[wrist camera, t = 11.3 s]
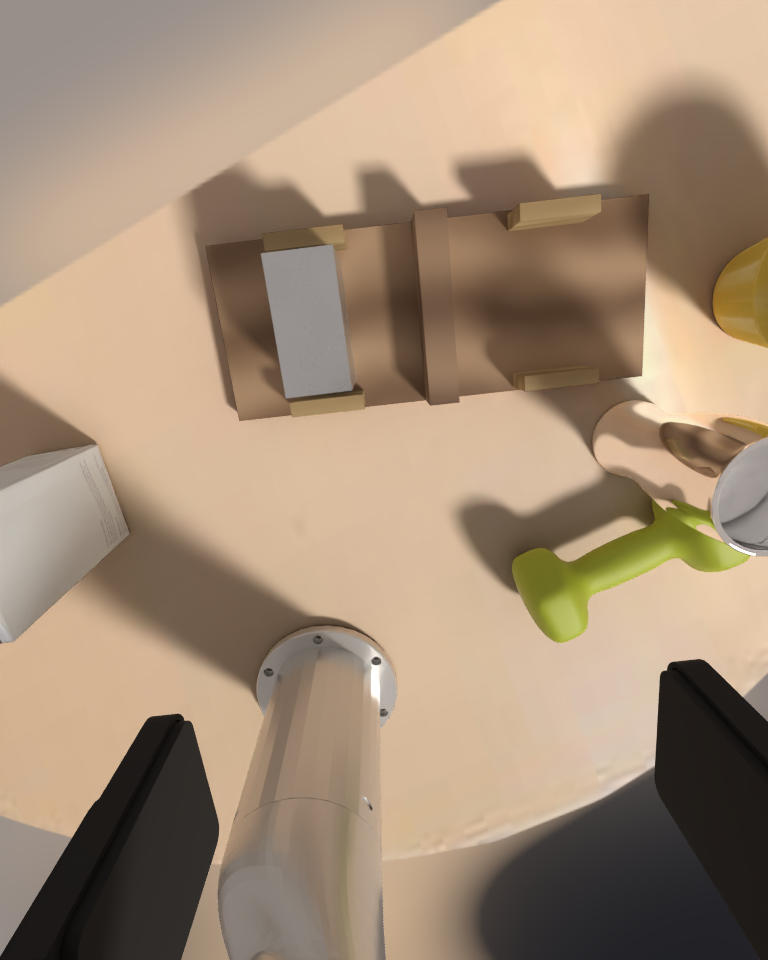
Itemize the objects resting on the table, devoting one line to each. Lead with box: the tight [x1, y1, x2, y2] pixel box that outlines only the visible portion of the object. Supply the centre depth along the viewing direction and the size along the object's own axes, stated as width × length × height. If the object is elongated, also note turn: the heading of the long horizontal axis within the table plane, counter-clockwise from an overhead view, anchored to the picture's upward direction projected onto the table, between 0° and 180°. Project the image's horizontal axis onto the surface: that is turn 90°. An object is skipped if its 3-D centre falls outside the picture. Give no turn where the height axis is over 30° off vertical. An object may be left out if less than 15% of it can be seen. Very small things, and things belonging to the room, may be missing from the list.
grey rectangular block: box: [261, 244, 357, 398], centre depth 32 cm, size 8×4×7 cm, turn 7°
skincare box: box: [0, 444, 130, 644], centre depth 33 cm, size 8×6×15 cm
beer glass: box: [592, 400, 768, 556], centre depth 32 cm, size 7×7×15 cm
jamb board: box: [206, 194, 649, 421], centre depth 34 cm, size 12×30×4 cm, turn 96°
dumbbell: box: [512, 499, 750, 643], centre depth 38 cm, size 16×8×7 cm, turn 117°
